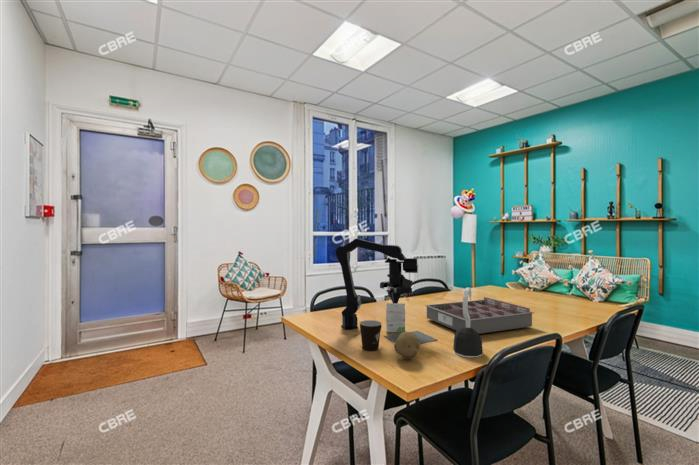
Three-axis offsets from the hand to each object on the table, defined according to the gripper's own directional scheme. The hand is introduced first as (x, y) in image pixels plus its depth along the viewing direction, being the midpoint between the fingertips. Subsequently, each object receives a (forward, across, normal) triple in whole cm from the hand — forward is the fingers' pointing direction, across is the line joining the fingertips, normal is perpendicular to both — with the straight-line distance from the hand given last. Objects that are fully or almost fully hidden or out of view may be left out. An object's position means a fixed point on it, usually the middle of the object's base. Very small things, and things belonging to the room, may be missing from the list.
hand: (395, 305), depth 156 cm
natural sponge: (+12, -31, +15) cm, 37 cm away
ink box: (+11, 0, 0) cm, 11 cm away
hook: (+12, -35, -10) cm, 38 cm away
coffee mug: (+12, -15, +20) cm, 28 cm away
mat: (+12, -12, 0) cm, 17 cm away
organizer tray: (+12, -8, -43) cm, 45 cm away
